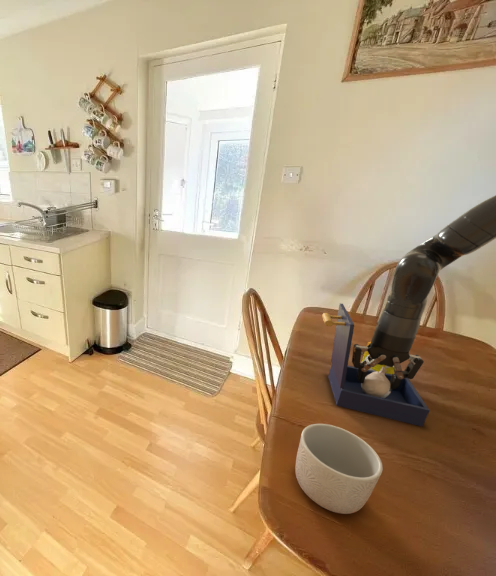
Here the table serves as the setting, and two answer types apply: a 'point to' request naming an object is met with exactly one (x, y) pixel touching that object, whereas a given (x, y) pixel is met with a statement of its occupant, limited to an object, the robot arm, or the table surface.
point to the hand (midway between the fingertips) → (375, 384)
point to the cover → (340, 342)
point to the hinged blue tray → (380, 399)
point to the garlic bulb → (377, 384)
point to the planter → (336, 468)
